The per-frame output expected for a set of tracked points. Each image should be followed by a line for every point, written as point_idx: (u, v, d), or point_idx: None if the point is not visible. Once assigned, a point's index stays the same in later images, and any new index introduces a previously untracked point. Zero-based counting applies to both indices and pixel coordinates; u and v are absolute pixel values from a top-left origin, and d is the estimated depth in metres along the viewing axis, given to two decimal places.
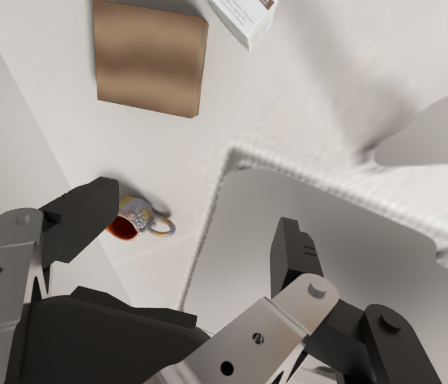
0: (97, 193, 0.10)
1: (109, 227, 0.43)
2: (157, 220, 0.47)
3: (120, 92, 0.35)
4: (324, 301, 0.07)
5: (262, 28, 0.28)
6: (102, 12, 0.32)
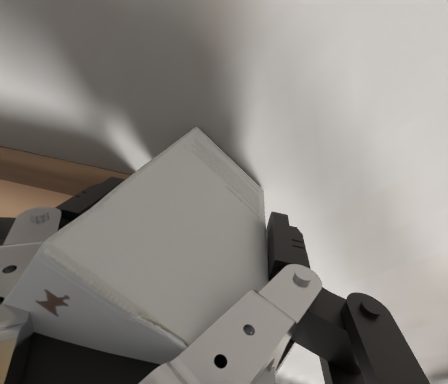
0: None
1: None
2: None
3: None
4: (307, 289, 0.07)
5: None
6: None
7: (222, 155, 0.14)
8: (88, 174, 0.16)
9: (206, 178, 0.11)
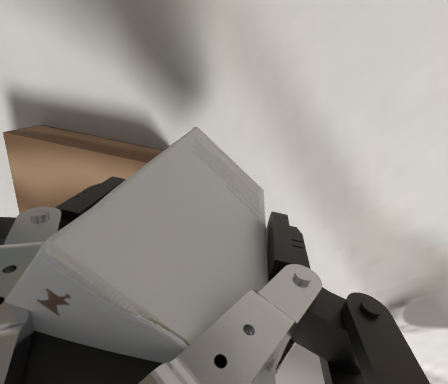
0: None
1: None
2: None
3: None
4: (307, 289, 0.07)
5: None
6: (19, 149, 0.22)
7: (222, 155, 0.14)
8: (140, 150, 0.23)
9: (207, 177, 0.11)
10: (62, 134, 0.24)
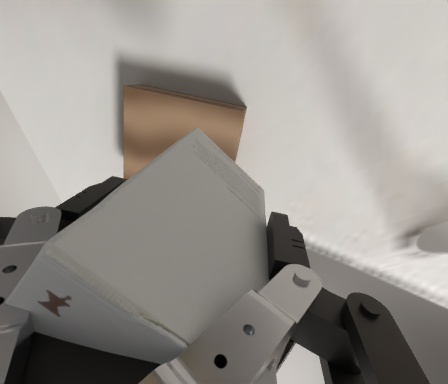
0: (110, 192, 0.11)
1: None
2: None
3: None
4: (307, 289, 0.07)
5: None
6: (133, 99, 0.29)
7: (223, 155, 0.14)
8: (222, 103, 0.30)
9: (207, 178, 0.11)
10: (161, 90, 0.30)
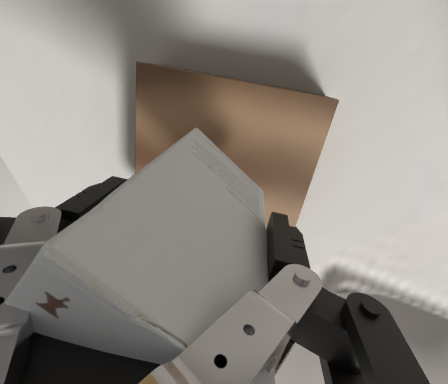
0: (110, 192, 0.11)
1: None
2: None
3: None
4: (307, 289, 0.07)
5: None
6: (152, 84, 0.18)
7: (222, 156, 0.14)
8: None
9: (206, 179, 0.11)
10: (193, 71, 0.19)
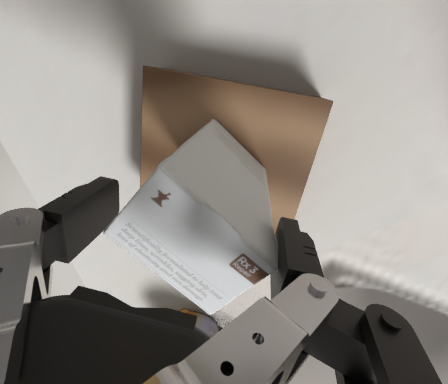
0: (97, 193, 0.10)
1: None
2: None
3: None
4: (324, 301, 0.07)
5: None
6: (158, 87, 0.19)
7: (234, 140, 0.18)
8: None
9: (226, 152, 0.15)
10: None
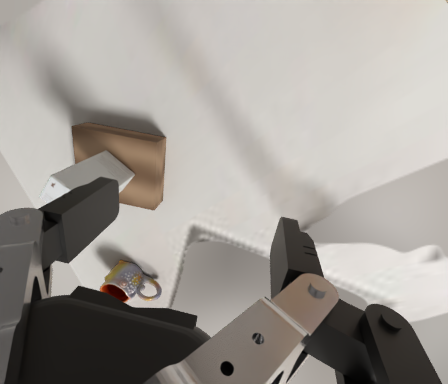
0: (97, 193, 0.10)
1: (104, 291, 0.51)
2: (146, 282, 0.54)
3: None
4: (324, 301, 0.07)
5: None
6: (79, 135, 0.40)
7: (114, 160, 0.39)
8: (146, 135, 0.41)
9: (98, 167, 0.36)
10: (101, 127, 0.41)
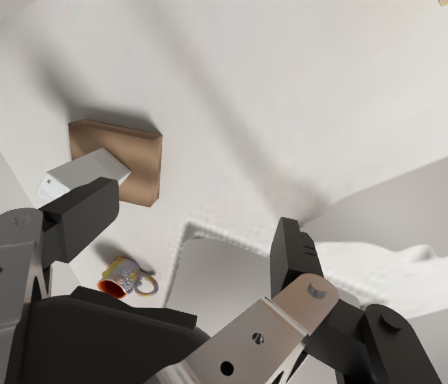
0: (97, 193, 0.10)
1: (102, 287, 0.52)
2: (143, 278, 0.55)
3: None
4: (324, 301, 0.07)
5: None
6: (76, 132, 0.40)
7: (111, 158, 0.40)
8: (142, 133, 0.41)
9: (94, 164, 0.36)
10: (98, 124, 0.42)
